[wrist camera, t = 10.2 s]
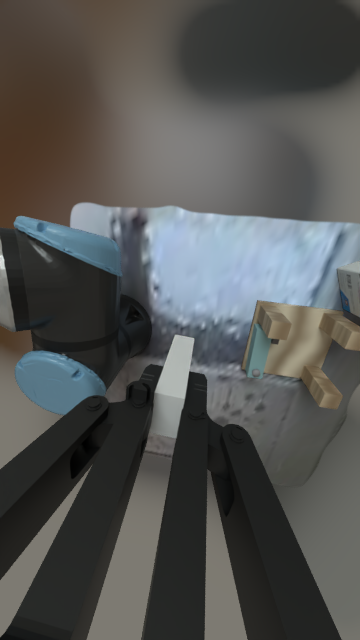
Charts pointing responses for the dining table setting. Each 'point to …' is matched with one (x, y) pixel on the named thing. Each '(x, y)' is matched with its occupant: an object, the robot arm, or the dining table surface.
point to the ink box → (350, 287)
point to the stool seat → (304, 344)
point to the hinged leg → (257, 353)
